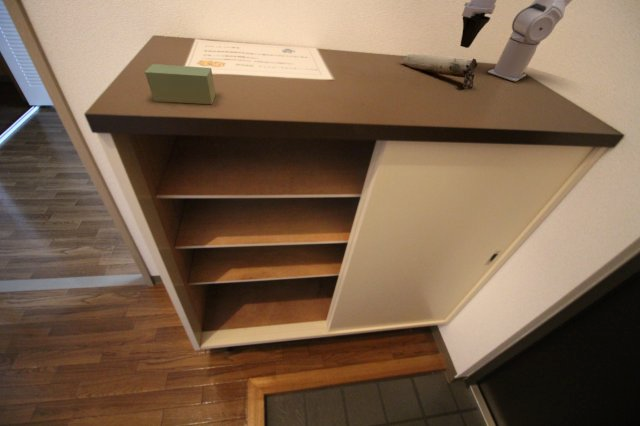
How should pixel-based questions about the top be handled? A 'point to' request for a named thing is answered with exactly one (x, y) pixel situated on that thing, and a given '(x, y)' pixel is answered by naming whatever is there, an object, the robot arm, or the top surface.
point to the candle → (444, 66)
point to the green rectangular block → (181, 84)
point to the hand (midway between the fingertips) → (464, 46)
